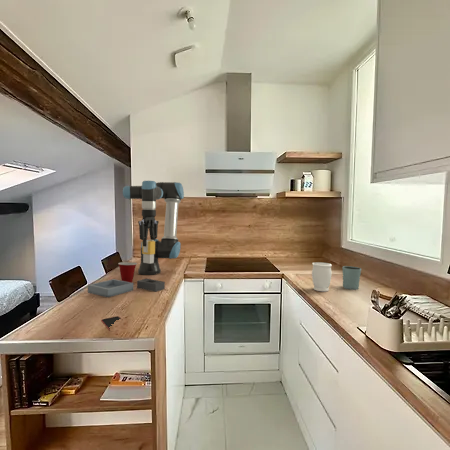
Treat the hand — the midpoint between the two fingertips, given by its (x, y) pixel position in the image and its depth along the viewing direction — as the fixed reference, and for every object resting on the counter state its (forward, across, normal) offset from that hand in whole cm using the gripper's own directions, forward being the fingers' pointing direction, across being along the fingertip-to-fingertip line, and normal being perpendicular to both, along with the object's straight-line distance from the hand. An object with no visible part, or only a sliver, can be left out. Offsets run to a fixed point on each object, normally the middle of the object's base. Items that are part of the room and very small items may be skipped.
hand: (148, 251), depth 159 cm
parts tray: (+21, +15, -12) cm, 28 cm away
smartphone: (+21, +43, +25) cm, 54 cm away
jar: (+21, -52, +83) cm, 100 cm away
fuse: (+6, 0, 0) cm, 6 cm away
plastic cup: (+21, -3, -20) cm, 29 cm away
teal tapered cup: (+21, -67, +97) cm, 119 cm away
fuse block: (+21, -1, +1) cm, 21 cm away
